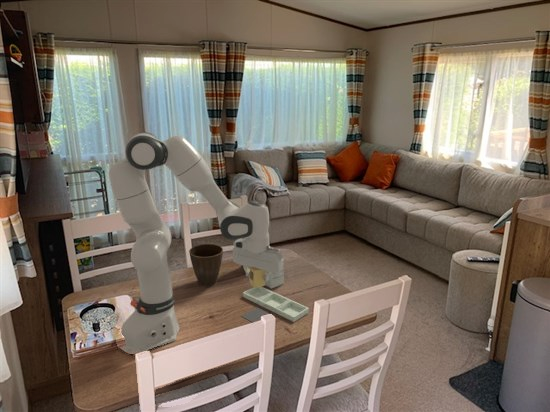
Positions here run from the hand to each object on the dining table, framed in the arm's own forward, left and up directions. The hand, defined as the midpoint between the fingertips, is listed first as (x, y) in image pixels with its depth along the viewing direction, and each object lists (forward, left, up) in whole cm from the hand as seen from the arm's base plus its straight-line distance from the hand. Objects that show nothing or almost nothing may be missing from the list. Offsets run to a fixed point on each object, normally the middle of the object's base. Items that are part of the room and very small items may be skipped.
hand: (257, 278), depth 153 cm
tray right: (+11, -9, -17) cm, 22 cm away
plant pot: (+5, +37, -17) cm, 41 cm away
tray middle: (+11, +1, -17) cm, 20 cm away
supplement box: (+24, +14, -17) cm, 33 cm away
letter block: (0, 0, -3) cm, 3 cm away
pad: (0, 0, -17) cm, 17 cm away
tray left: (+11, +10, -17) cm, 23 cm away
